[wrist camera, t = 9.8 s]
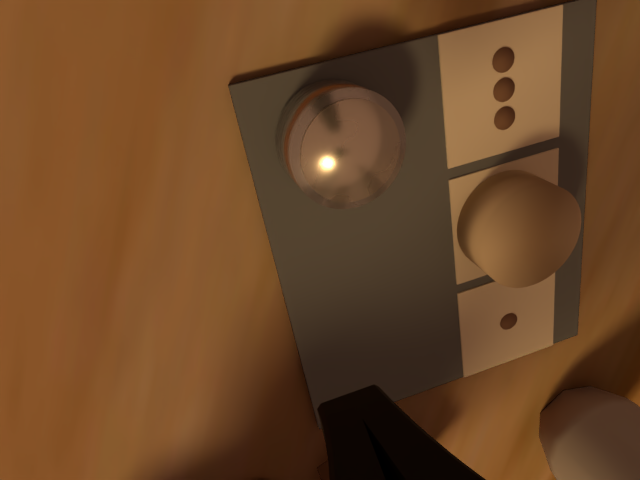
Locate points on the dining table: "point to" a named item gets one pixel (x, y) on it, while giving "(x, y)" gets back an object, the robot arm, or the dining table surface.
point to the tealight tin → (340, 143)
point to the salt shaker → (591, 435)
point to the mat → (429, 204)
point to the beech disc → (518, 228)
